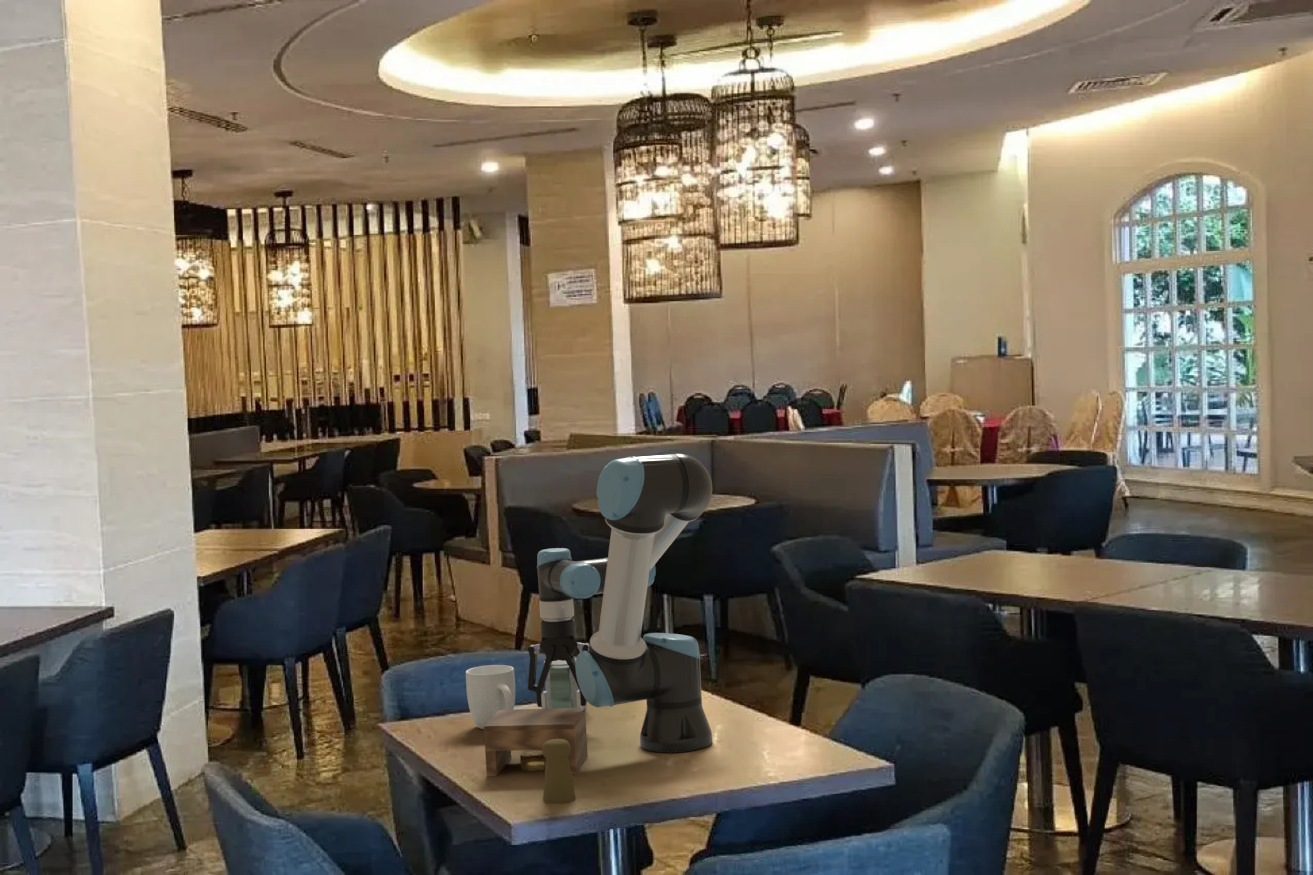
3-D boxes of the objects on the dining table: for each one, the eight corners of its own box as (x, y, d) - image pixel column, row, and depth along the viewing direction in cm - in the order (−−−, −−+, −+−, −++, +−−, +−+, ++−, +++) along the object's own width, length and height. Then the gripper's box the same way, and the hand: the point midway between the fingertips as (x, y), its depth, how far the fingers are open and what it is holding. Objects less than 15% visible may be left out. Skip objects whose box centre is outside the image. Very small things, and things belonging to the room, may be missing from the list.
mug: (534, 729, 324) (530, 671, 323) (490, 738, 318) (486, 679, 317) (503, 718, 336) (500, 662, 336) (460, 726, 330) (457, 669, 330)
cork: (563, 805, 264) (559, 745, 264) (536, 801, 267) (533, 742, 267) (582, 796, 269) (578, 737, 269) (555, 792, 273) (552, 734, 272)
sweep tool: (556, 728, 324) (552, 666, 324) (573, 727, 324) (570, 665, 323) (535, 756, 300) (531, 689, 300) (554, 755, 300) (550, 688, 299)
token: (561, 763, 294) (561, 751, 294) (544, 772, 288) (543, 760, 288) (532, 761, 297) (531, 749, 297) (514, 770, 291) (513, 758, 291)
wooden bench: (587, 755, 298) (584, 707, 298) (576, 774, 285) (573, 724, 284) (502, 757, 301) (499, 709, 300) (486, 776, 287) (483, 726, 286)
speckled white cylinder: (586, 716, 334) (583, 663, 334) (544, 718, 334) (541, 665, 334) (588, 707, 344) (585, 655, 343) (548, 708, 344) (545, 657, 343)
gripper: (604, 614, 323) (610, 715, 324) (516, 617, 326) (522, 718, 327) (599, 619, 316) (605, 723, 317) (509, 622, 318) (515, 726, 319)
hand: (563, 720), depth 322 cm, fingers open, 7 cm apart
